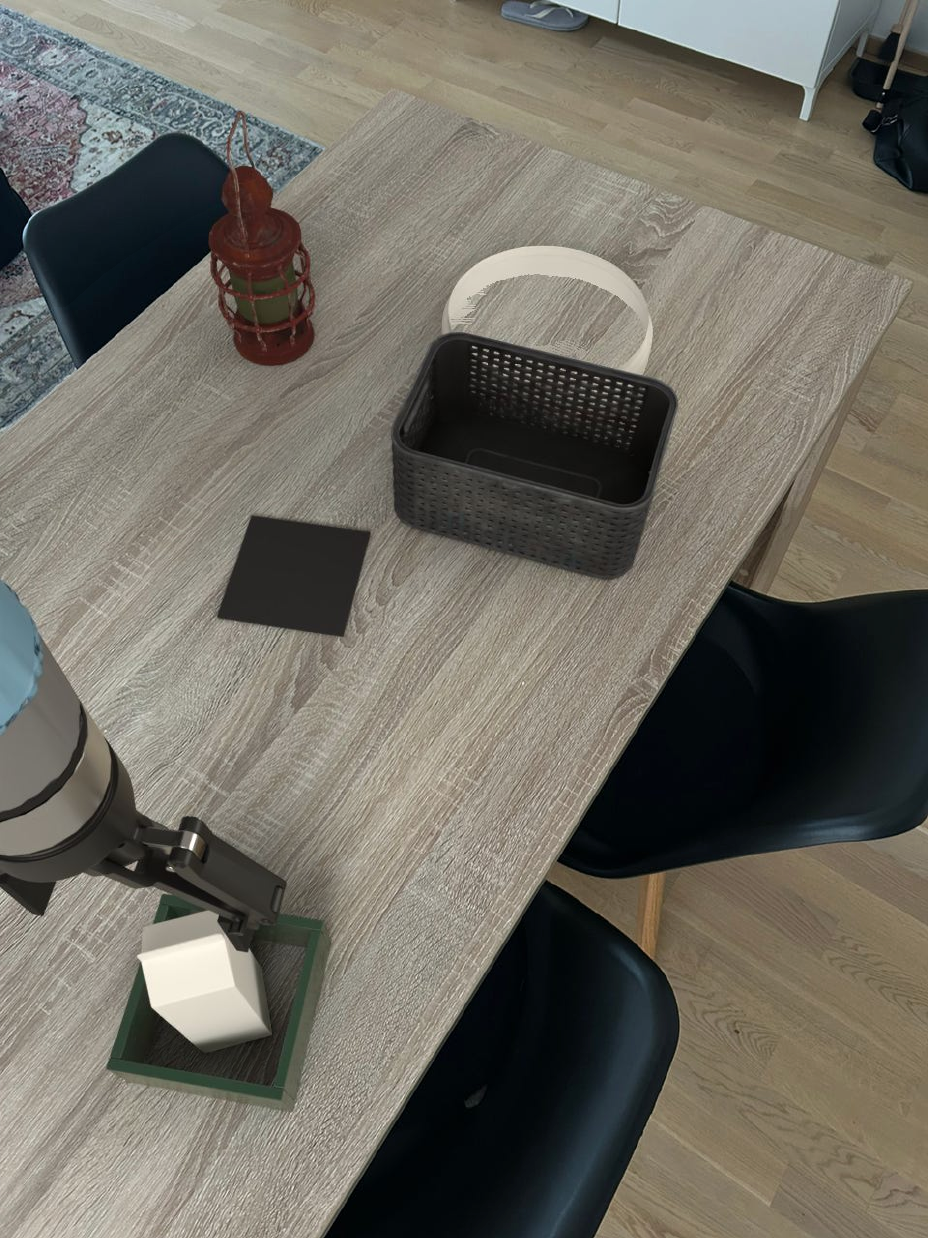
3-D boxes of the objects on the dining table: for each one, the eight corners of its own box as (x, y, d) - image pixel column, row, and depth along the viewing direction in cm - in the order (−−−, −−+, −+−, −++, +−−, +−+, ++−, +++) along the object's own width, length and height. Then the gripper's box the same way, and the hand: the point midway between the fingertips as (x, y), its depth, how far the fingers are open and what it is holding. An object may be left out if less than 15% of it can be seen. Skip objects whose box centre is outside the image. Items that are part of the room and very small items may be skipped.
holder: (128, 1082, 88) (105, 1069, 82) (179, 916, 96) (162, 893, 90) (292, 1112, 87) (281, 1101, 81) (331, 942, 95) (323, 920, 89)
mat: (217, 618, 113) (216, 616, 113) (252, 517, 120) (251, 514, 120) (343, 637, 112) (343, 635, 112) (370, 533, 119) (370, 531, 119)
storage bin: (663, 462, 125) (685, 382, 114) (627, 589, 116) (647, 515, 104) (438, 407, 130) (437, 324, 118) (385, 525, 120) (379, 447, 108)
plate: (423, 404, 130) (422, 372, 125) (461, 263, 144) (462, 229, 139) (638, 435, 128) (646, 403, 123) (656, 288, 142) (663, 255, 137)
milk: (272, 1035, 91) (228, 977, 72) (203, 1054, 90) (139, 1001, 71) (261, 966, 94) (216, 892, 75) (193, 983, 93) (131, 914, 74)
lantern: (238, 302, 139) (190, 86, 114) (328, 308, 139) (300, 93, 113) (218, 367, 133) (163, 153, 107) (312, 374, 132) (279, 162, 107)
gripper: (310, 752, 50) (347, 888, 68) (-174, 673, 52) (-14, 826, 70) (269, 904, 46) (320, 1006, 64) (-253, 813, 48) (-62, 937, 66)
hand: (146, 912), depth 67 cm, fingers open, 13 cm apart
